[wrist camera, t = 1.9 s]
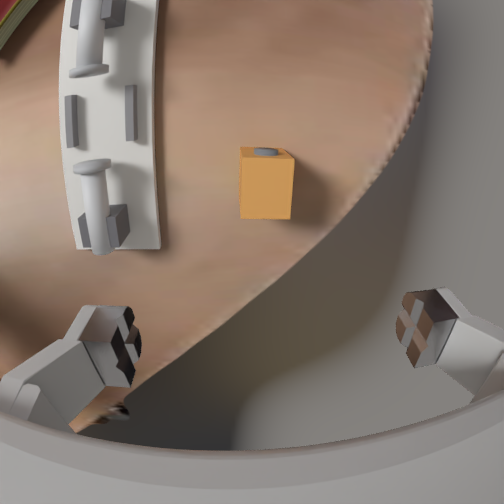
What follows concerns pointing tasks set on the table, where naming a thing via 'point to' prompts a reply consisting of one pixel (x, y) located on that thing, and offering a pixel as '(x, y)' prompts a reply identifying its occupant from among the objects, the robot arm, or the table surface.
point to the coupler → (265, 183)
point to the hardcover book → (12, 16)
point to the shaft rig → (109, 123)
